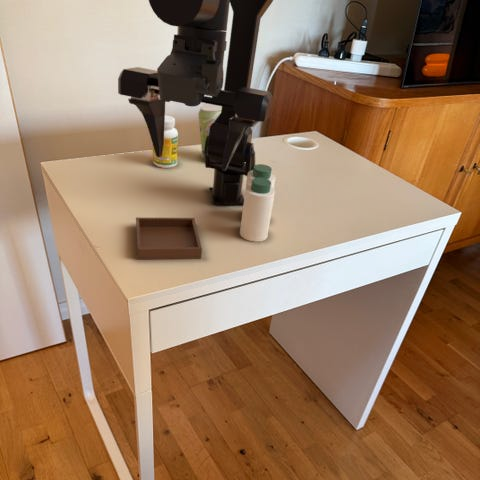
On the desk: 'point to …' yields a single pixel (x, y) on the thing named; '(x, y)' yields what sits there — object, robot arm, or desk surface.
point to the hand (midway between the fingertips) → (191, 163)
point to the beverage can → (207, 121)
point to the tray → (167, 238)
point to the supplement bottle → (168, 145)
